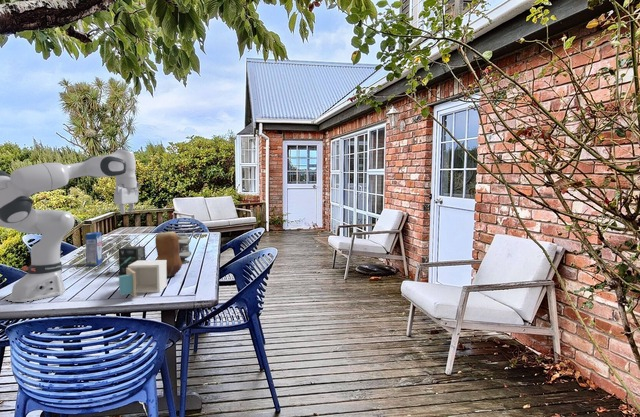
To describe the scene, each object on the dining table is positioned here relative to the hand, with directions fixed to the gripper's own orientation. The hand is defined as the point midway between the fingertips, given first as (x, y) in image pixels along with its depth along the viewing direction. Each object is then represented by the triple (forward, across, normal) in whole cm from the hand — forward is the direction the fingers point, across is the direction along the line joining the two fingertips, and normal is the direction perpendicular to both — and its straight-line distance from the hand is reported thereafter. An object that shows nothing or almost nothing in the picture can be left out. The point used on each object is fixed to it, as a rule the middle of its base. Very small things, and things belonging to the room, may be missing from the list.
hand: (127, 213), depth 185 cm
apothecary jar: (+37, +63, -9) cm, 74 cm away
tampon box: (+37, +38, +12) cm, 55 cm away
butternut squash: (+37, +26, -11) cm, 47 cm away
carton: (+37, 0, -9) cm, 38 cm away
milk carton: (+38, +63, +45) cm, 86 cm away
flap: (+36, -14, -4) cm, 39 cm away
